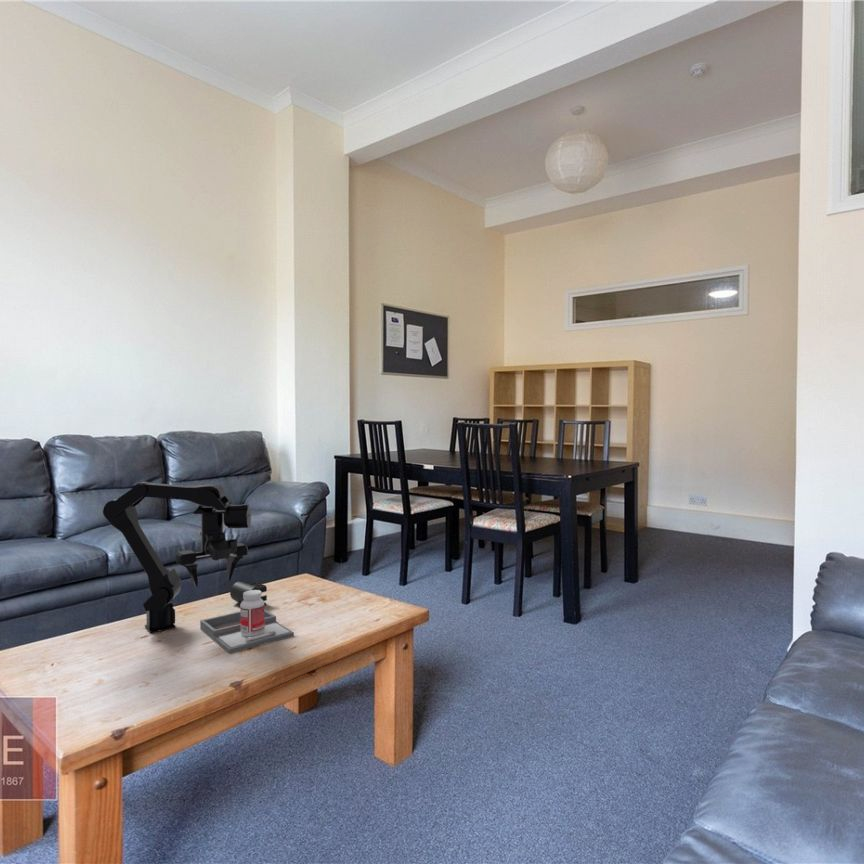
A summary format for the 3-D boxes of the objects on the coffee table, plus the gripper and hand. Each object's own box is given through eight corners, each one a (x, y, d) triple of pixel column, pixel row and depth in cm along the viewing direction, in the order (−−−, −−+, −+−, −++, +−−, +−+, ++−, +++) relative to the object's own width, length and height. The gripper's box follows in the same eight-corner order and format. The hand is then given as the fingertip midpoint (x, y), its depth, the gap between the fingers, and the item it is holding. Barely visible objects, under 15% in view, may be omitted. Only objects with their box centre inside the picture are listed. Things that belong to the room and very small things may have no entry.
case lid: (229, 653, 142) (229, 648, 142) (213, 640, 150) (213, 636, 150) (293, 636, 153) (293, 631, 153) (276, 624, 161) (276, 620, 161)
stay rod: (246, 642, 145) (246, 639, 145) (244, 641, 146) (244, 637, 146) (275, 635, 151) (275, 631, 151) (274, 634, 151) (274, 630, 151)
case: (213, 640, 150) (213, 628, 150) (200, 629, 158) (200, 617, 158) (276, 624, 161) (276, 613, 161) (260, 615, 169) (260, 604, 169)
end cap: (229, 604, 179) (229, 583, 179) (249, 599, 185) (249, 578, 185) (248, 611, 173) (247, 589, 173) (267, 605, 179) (267, 584, 179)
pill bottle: (267, 628, 155) (266, 588, 155) (261, 637, 149) (261, 595, 149) (244, 629, 155) (243, 589, 155) (237, 637, 149) (237, 596, 149)
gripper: (187, 537, 148) (187, 597, 148) (255, 528, 160) (256, 583, 161) (174, 531, 157) (174, 587, 157) (240, 523, 169) (240, 575, 169)
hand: (212, 583), depth 161 cm, fingers open, 9 cm apart
